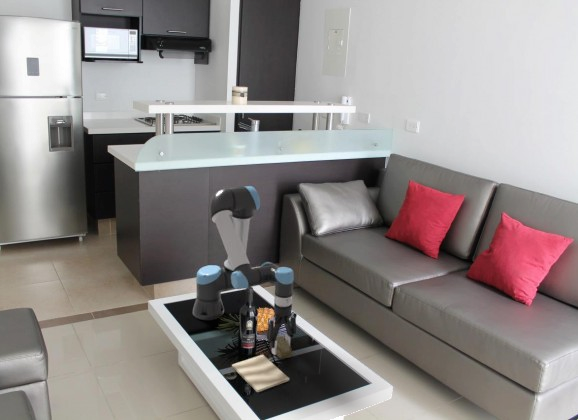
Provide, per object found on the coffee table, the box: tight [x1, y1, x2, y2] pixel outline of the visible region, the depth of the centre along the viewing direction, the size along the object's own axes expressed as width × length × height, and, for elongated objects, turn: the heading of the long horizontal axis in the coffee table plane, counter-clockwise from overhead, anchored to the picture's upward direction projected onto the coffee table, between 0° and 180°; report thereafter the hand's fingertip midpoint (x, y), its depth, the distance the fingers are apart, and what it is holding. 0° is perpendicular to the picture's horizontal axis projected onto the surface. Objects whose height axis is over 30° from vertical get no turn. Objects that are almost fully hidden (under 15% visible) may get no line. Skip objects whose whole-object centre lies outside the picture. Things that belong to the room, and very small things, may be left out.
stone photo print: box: [231, 354, 290, 393], centre depth 222 cm, size 20×15×1 cm
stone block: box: [269, 336, 293, 360], centre depth 237 cm, size 6×12×5 cm, turn 27°
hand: (280, 351), depth 238 cm, fingers closed on stone block, 6 cm apart
